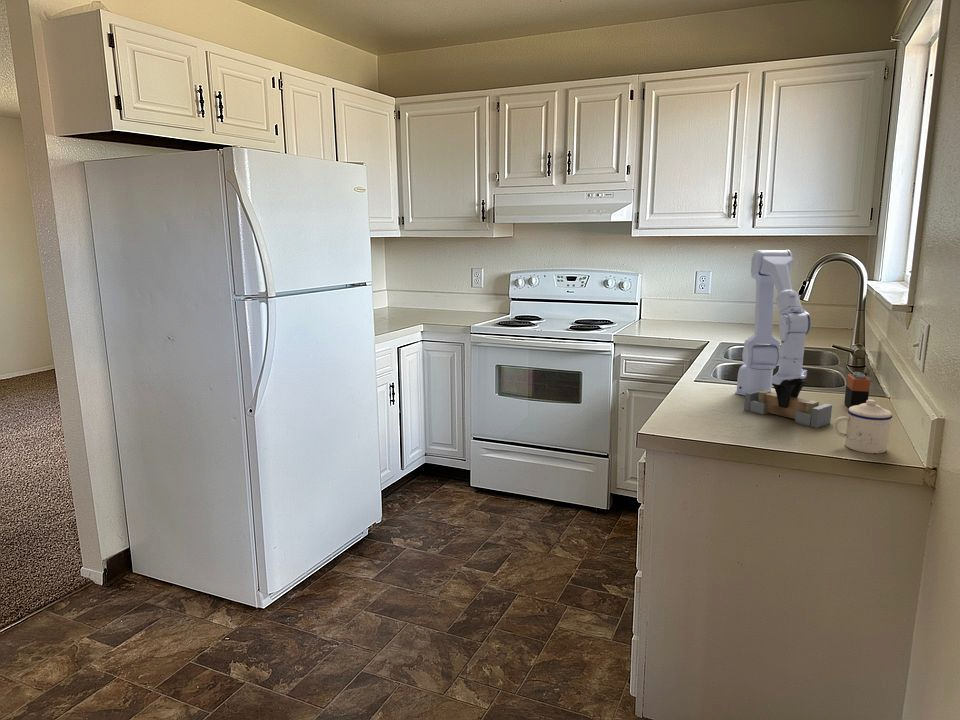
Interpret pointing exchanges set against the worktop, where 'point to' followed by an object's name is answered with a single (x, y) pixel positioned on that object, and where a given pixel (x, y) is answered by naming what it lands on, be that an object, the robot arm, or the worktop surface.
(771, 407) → the rail
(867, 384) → the battery
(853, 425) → the teacup with lid
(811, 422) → the post slots
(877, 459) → the worktop surface
